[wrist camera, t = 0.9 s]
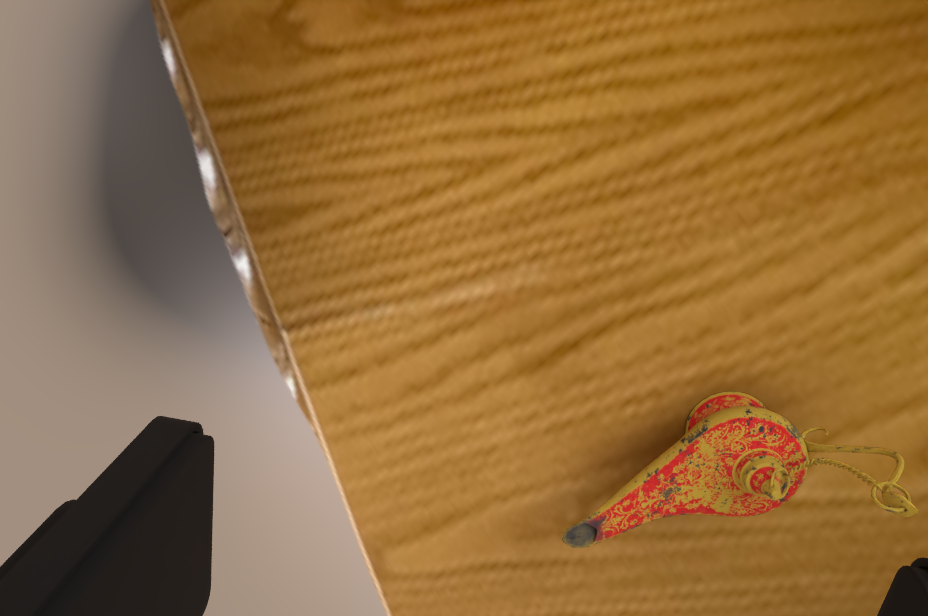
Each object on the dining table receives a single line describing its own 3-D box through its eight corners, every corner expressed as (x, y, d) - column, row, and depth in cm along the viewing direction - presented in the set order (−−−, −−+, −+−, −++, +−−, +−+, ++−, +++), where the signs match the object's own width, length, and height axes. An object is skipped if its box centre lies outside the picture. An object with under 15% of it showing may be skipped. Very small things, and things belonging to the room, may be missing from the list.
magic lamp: (543, 429, 49) (539, 542, 38) (840, 343, 44) (925, 443, 34) (579, 517, 51) (585, 646, 40) (866, 442, 47) (953, 565, 36)
